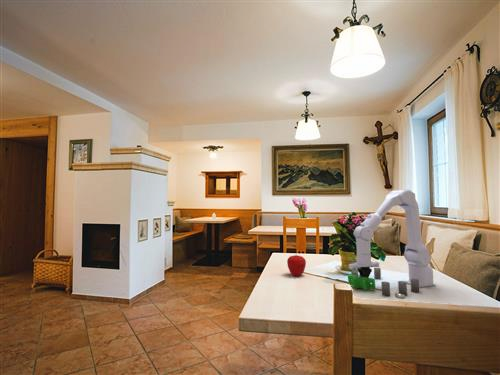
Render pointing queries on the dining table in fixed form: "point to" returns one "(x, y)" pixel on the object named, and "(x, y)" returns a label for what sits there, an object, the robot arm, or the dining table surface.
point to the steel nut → (399, 295)
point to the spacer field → (386, 285)
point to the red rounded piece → (296, 265)
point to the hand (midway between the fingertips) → (364, 284)
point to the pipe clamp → (361, 282)
